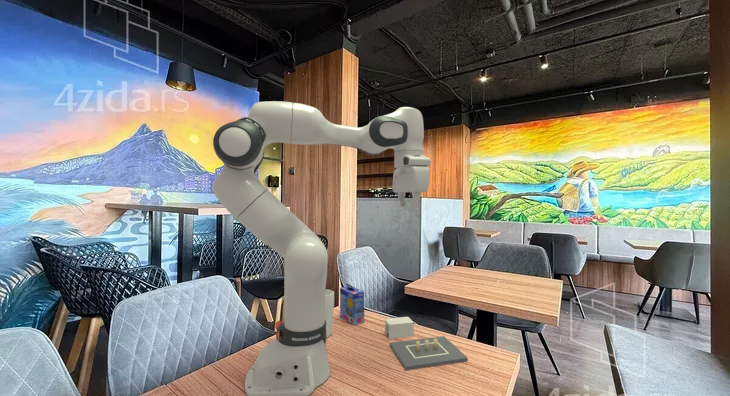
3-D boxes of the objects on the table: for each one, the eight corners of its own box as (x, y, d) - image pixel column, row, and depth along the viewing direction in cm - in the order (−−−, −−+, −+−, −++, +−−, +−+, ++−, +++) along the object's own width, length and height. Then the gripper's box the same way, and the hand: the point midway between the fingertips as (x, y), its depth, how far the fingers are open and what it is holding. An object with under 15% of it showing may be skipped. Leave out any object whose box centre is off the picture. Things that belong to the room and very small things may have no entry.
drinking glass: (330, 339, 101) (330, 296, 101) (312, 337, 102) (312, 294, 102) (336, 331, 107) (336, 290, 107) (318, 329, 109) (319, 288, 109)
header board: (405, 370, 84) (405, 356, 84) (389, 345, 97) (389, 333, 97) (467, 361, 88) (467, 347, 88) (444, 339, 102) (444, 327, 102)
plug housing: (389, 339, 102) (389, 324, 102) (384, 332, 107) (384, 318, 107) (413, 336, 104) (413, 322, 104) (407, 330, 109) (408, 316, 109)
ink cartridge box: (339, 317, 119) (339, 281, 119) (349, 314, 123) (350, 279, 123) (353, 325, 112) (354, 288, 112) (364, 321, 115) (365, 285, 115)
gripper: (388, 165, 99) (387, 206, 99) (412, 157, 79) (411, 208, 79) (405, 165, 100) (405, 206, 101) (433, 158, 81) (433, 208, 81)
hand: (408, 207), depth 90 cm, fingers open, 8 cm apart
